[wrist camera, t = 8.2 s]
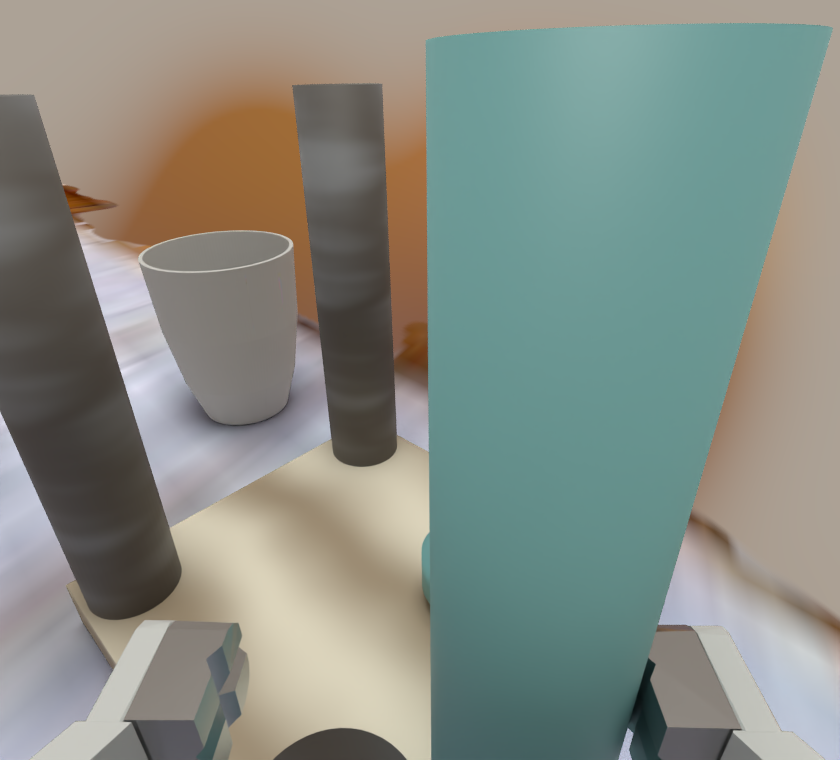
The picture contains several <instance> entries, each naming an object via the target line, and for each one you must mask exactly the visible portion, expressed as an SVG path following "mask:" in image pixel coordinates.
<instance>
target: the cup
mask: <svg viewBox="0 0 840 760" xmlns="http://www.w3.org/2000/svg"><path fill="white" fill-rule="evenodd" d="M138 261H139V264H140V267H141V270H142V273H143V276H144V279H145V282H146V285H147V288H148V291H149V294H150V297H151V300H152V303H153V306H154V309H155V312H156V315H157V318H158V321H159V324H160V327H161V330H162V333H163V335H164V337H165V339H166V341H167V343H168V345H169V347H170V350H171V352H172V354H173V356H174V358H175V360H176V362H177V365H178V367H179V369H180V371H181V373H182V375H183V377H184V380H185V382H186V384H187V385H188V387H189V388H190V390H191V391H192V393H193V394H194V395H195V397H196V398H197V400H198V401H199V403H200V404H201V406H202V407H203V409H204V410H205V412H206V413H207V415H208V416H209V417H210V418H211V419H212V420H214V421H216V422H218V423H222V424H227V425H245V424H251V423H256V422H259V421H263V420H265V419H268V418H270V417H272V416H274V415H276V414H277V413H278V412H280V411H281V410H282V409H283V408H284V407H285V405H286V404H287V401H288V396H289V391H290V386H291V382H292V377H293V372H294V367H295V353H296V332H297V299H296V283H295V268H294V253H293V242H292V241H291V240H290V239H289V238H287V237H285V236H282V235H279V234H275V233H270V232H262V231H220V232H210V233H203V234H195V235H189V236H184V237H180V238H176V239H172V240H168V241H165V242H162V243H159V244H156V245H154V246H152V247H150V248H148V249H146V250H145V251H143V252H142V253H141V254H140V255H139V257H138Z"/></svg>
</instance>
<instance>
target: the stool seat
mask: <svg viewBox="0 0 840 760" xmlns="http://www.w3.org/2000/svg"><path fill="white" fill-rule="evenodd" d="M292 87H293V95H294V105H295V114H296V123H297V132H298V140H299V149H300V159H301V167H302V177H303V186H304V194H305V204H306V213H307V222H308V231H309V239H310V249H311V258H312V267H313V276H314V285H315V294H316V303H317V312H318V321H319V330H320V339H321V348H322V357H323V366H324V375H325V384H326V393H327V402H328V411H329V421H330V430H331V439H330V440H329V441H327V442H325V443H323V444H321V445H320V446H318V447H316V448H314V449H312V450H310V451H309V452H307V453H305V454H303V455H301V456H300V457H298V458H296V459H294V460H292V461H291V462H289V463H287V464H285V465H283V466H281V467H280V468H278V469H276V470H274V471H272V472H271V473H269V474H267V475H265V476H263V477H261V478H260V479H258V480H256V481H254V482H252V483H251V484H249V485H247V486H245V487H243V488H242V489H240V490H238V491H236V492H234V493H232V494H231V495H229V496H227V497H225V498H223V499H222V500H220V501H218V502H216V503H214V504H212V505H211V506H209V507H207V508H205V509H203V510H202V511H200V512H198V513H196V514H194V515H192V516H191V517H189V518H187V519H185V520H183V521H182V522H180V523H178V524H176V525H174V526H173V527H171V528H169V525H168V522H167V519H166V516H165V512H164V509H163V506H162V503H161V500H160V496H159V493H158V490H157V487H156V484H155V480H154V477H153V474H152V471H151V468H150V464H149V461H148V458H147V455H146V452H145V448H144V445H143V442H142V439H141V436H140V432H139V429H138V426H137V423H136V420H135V416H134V413H133V410H132V407H131V404H130V400H129V397H128V394H127V391H126V388H125V384H124V381H123V378H122V375H121V372H120V368H119V365H118V362H117V359H116V356H115V352H114V349H113V346H112V343H111V340H110V336H109V333H108V330H107V327H106V324H105V321H104V317H103V314H102V311H101V308H100V305H99V301H98V298H97V295H96V292H95V289H94V285H93V282H92V279H91V276H90V273H89V269H88V266H87V263H86V260H85V257H84V253H83V250H82V247H81V244H80V241H79V237H78V234H77V231H76V228H75V225H74V221H73V218H72V215H71V212H70V209H69V205H68V202H67V199H66V196H65V193H64V189H63V186H62V183H61V180H60V177H59V174H58V170H57V167H56V164H55V161H54V158H53V154H52V151H51V148H50V145H49V142H48V138H47V135H46V132H45V129H44V126H43V122H42V119H41V116H40V113H39V109H38V106H37V103H36V100H35V97H34V95H0V412H1V414H2V416H3V418H4V421H5V423H6V425H7V427H8V430H9V432H10V434H11V436H12V438H13V441H14V443H15V445H16V447H17V450H18V452H19V454H20V456H21V458H22V461H23V463H24V465H25V467H26V470H27V472H28V474H29V476H30V478H31V481H32V483H33V485H34V487H35V490H36V492H37V494H38V496H39V499H40V501H41V503H42V505H43V507H44V510H45V512H46V514H47V516H48V519H49V521H50V523H51V525H52V527H53V530H54V532H55V534H56V536H57V539H58V541H59V543H60V545H61V547H62V550H63V552H64V554H65V556H66V559H67V561H68V563H69V565H70V567H71V570H72V572H73V574H74V576H75V579H76V580H74V581H73V582H71V583H69V584H67V585H66V587H67V589H68V591H69V594H70V596H71V598H72V600H73V602H74V604H75V606H76V609H77V611H78V613H79V615H80V617H81V619H82V621H83V623H84V625H85V626H86V628H87V629H88V631H89V633H90V634H91V636H92V637H93V639H94V641H95V642H96V644H97V645H98V647H99V648H100V650H101V652H102V653H103V655H104V656H105V658H106V660H107V661H108V663H109V664H110V666H111V668H112V669H114V668H115V666H116V664H117V662H118V660H119V658H120V657H121V655H122V653H123V651H124V649H125V647H126V646H127V644H128V642H129V640H130V638H131V636H132V635H133V633H134V631H135V629H136V628H137V627H138V626H139V625H140V624H141V623H142V622H143V621H144V620H177V621H203V622H234V623H239V626H240V630H241V633H242V639H241V641H240V644H239V648H241V649H242V650H243V651H245V652H246V653H247V656H248V660H249V672H250V678H249V685H248V692H247V698H246V701H245V705H244V708H243V712H242V715H241V716H240V717H239V718H238V719H237V720H236V721H235V722H234V723H233V724H232V725H231V726H230V727H229V728H228V729H229V732H230V735H231V739H232V742H233V745H232V748H231V751H230V755H229V758H228V760H431V664H430V603H429V602H428V601H427V599H426V597H425V595H424V592H423V588H422V553H421V552H422V544H423V541H424V539H425V537H426V536H427V534H428V533H429V532H430V530H429V452H427V451H426V450H424V449H422V448H420V447H418V446H416V445H414V444H413V443H411V442H409V441H407V440H405V439H403V438H402V437H400V436H398V435H397V432H396V408H395V384H394V360H393V336H392V312H391V288H390V263H389V241H388V240H389V239H388V216H387V192H386V168H385V145H384V144H385V143H384V119H383V95H382V84H310V85H293V86H292Z"/></svg>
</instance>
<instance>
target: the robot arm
mask: <svg viewBox="0 0 840 760" xmlns="http://www.w3.org/2000/svg"><path fill="white" fill-rule="evenodd" d="M241 639H242V633H241V630H240V626H239V623H234V622H203V621H177V620H144V621H143V622H142V623H141V624H140V625H139V626H138V627H137V628H136V629H135V631H134V633H133V635H132V636H131V638H130V640H129V642H128V644H127V646H126V647H125V649H124V651H123V653H122V655H121V657H120V658H119V660H118V662H117V664H116V666H115V668H114V669H113V671H112V673H111V675H110V677H109V679H108V681H107V682H106V684H105V686H104V688H103V690H102V692H101V693H100V695H99V697H98V699H97V701H96V703H95V704H94V706H93V708H92V710H91V712H90V714H89V715H88V717H87V719H86V721H75V722H74V723H73V724H72V725H70V726H69V727H68V728H67V729H66V730H64V731H63V732H62V733H61V734H60V735H58V736H57V737H56V738H55V739H54V740H52V741H51V742H50V743H49V744H47V745H46V746H45V747H44V748H43V749H41V750H40V751H39V752H38V753H37V754H35V755H34V756H33V757H32V758H30V759H29V760H228V758H229V755H230V751H231V748H232V745H233V742H232V739H231V735H230V732H229V729H228V728H229V727H230V726H231V725H232V724H233V723H234V722H235V721H236V720H237V719H238V718H239V717H240V716H241V715H242V712H243V708H244V705H245V701H246V698H247V692H248V685H249V678H250V672H249V660H248V656H247V653H246V652H245V651H243V650H242V649H241V648H239V644H240V641H241ZM628 728H629V729H630V730H631V731H632V732H633V733H634V734H633V738H632V742H631V745H630V749H629V751H630V754H631V758H632V760H825V759H824V758H823V757H822V756H821V755H819V754H818V753H817V752H816V751H815V750H813V749H812V748H811V747H810V746H809V745H808V744H806V743H805V742H804V741H803V740H802V739H800V738H799V737H798V736H797V735H796V734H795V733H793V732H789V731H782V730H781V729H780V727H779V725H778V723H777V721H776V719H775V717H774V716H773V714H772V712H771V710H770V708H769V706H768V704H767V703H766V701H765V699H764V697H763V695H762V693H761V691H760V690H759V688H758V686H757V684H756V682H755V680H754V678H753V677H752V675H751V673H750V671H749V669H748V667H747V666H746V664H745V662H744V660H743V658H742V656H741V654H740V653H739V651H738V649H737V647H736V645H735V643H734V641H733V640H732V638H731V636H730V634H729V632H728V631H727V630H725V629H724V628H723V627H722V626H687V625H658V626H657V629H656V633H655V636H654V639H653V643H652V646H651V650H650V653H649V656H648V660H647V663H646V667H645V670H644V673H643V677H642V680H641V684H640V687H639V690H638V694H637V697H636V701H635V704H634V707H633V711H632V714H631V718H630V721H629V724H628Z"/></svg>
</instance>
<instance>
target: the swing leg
mask: <svg viewBox="0 0 840 760" xmlns="http://www.w3.org/2000/svg"><path fill="white" fill-rule="evenodd" d="M832 30H833V28H832V27H828V26H820V25H805V24H765V23H762V24H761V23H755V24H754V23H752V24H751V23H750V24H749V23H733V24H732V23H729V24H728V23H727V24H726V23H725V24H723V23H720V24H661V25H659V24H658V25H625V26H624V25H623V26H596V27H572V28H549V29H530V30H514V31H500V32H485V33H473V34H462V35H452V36H444V37H437V38H432V39H428V40H426V122H427V123H426V129H427V255H428V257H427V261H428V397H429V530H430V532H429V533H428V534H427V536H426V537H425V539H424V541H423V544H422V552H421V553H422V588H423V592H424V595H425V597H426V599H427V601H428V602H429V603H430V664H431V760H618V759H619V755H620V752H621V748H622V745H623V741H624V738H625V735H626V731H627V728H628V724H629V721H630V718H631V714H632V711H633V707H634V704H635V701H636V697H637V694H638V690H639V687H640V684H641V680H642V677H643V673H644V670H645V667H646V663H647V660H648V656H649V653H650V650H651V646H652V643H653V639H654V636H655V633H656V629H657V626H658V622H659V619H660V615H661V612H662V609H663V605H664V602H665V598H666V595H667V592H668V588H669V585H670V581H671V578H672V575H673V571H674V568H675V564H676V561H677V558H678V554H679V551H680V547H681V544H682V541H683V537H684V534H685V530H686V527H687V524H688V520H689V517H690V513H691V510H692V507H693V503H694V500H695V496H696V492H697V489H698V486H699V482H700V479H701V476H702V472H703V469H704V466H705V462H706V459H707V455H708V452H709V448H710V445H711V442H712V438H713V435H714V431H715V428H716V425H717V421H718V418H719V415H720V411H721V408H722V404H723V401H724V398H725V394H726V390H727V387H728V384H729V380H730V377H731V374H732V370H733V367H734V363H735V360H736V356H737V353H738V350H739V346H740V343H741V339H742V336H743V333H744V329H745V326H746V323H747V319H748V316H749V312H750V309H751V306H752V302H753V299H754V295H755V292H756V289H757V285H758V282H759V278H760V275H761V272H762V268H763V265H764V261H765V257H766V255H767V251H768V248H769V244H770V240H771V237H772V234H773V231H774V227H775V224H776V220H777V217H778V214H779V210H780V207H781V203H782V200H783V197H784V193H785V190H786V186H787V183H788V179H789V176H790V173H791V169H792V166H793V162H794V159H795V156H796V152H797V149H798V146H799V142H800V139H801V135H802V132H803V129H804V125H805V122H806V118H807V115H808V111H809V108H810V105H811V101H812V98H813V94H814V91H815V87H816V84H817V81H818V77H819V74H820V71H821V67H822V64H823V60H824V57H825V53H826V50H827V47H828V43H829V40H830V37H831V33H832Z"/></svg>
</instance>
